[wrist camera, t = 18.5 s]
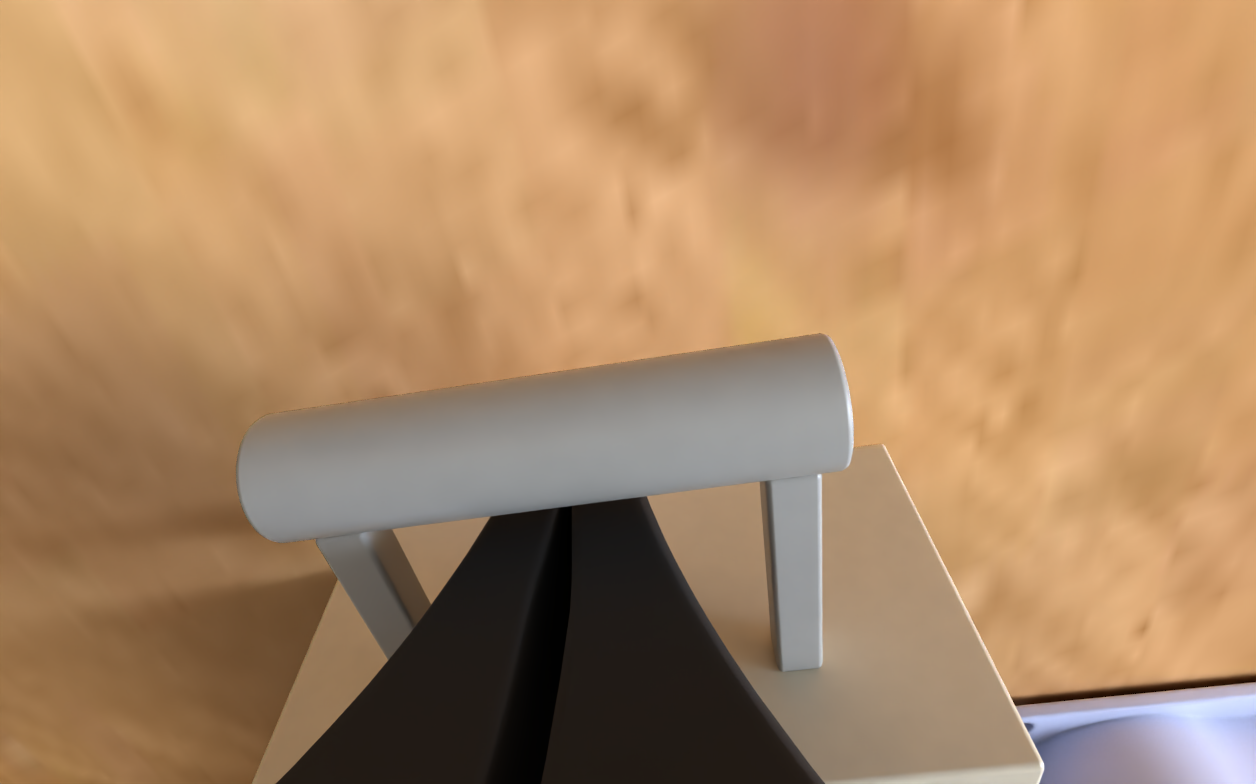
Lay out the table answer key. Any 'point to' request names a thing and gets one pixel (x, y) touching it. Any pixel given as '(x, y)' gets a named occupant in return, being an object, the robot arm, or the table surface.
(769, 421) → the drawer
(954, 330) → the table surface
